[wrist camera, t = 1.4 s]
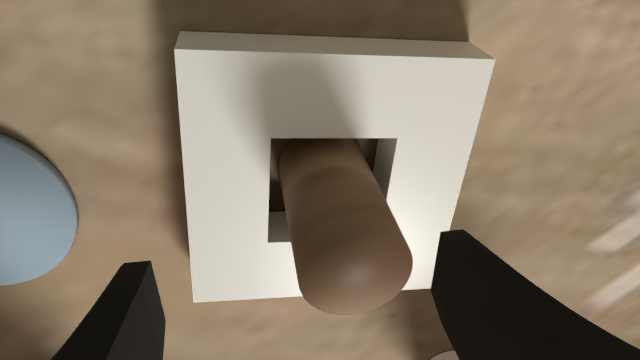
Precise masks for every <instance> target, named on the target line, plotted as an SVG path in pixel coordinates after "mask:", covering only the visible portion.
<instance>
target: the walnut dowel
mask: <svg viewBox="0 0 640 360" xmlns="http://www.w3.org/2000/svg"><path fill="white" fill-rule="evenodd" d="M278 170H279V176H280V182H281V187H282V193H283V199H284V205H285V210H286V216H287V222H288V228H289V233H290V239H291V245H292V251H293V257H294V262H295V268H296V274H297V280H298V285H299V289H300V292H301V294H302V295H303V297H304V298H305V299H306V301H307V302H308V303H309V304H311V305H312V306H313V307H315V308H317V309H319V310H321V311H323V312H326V313H330V314H335V315H354V314H360V313H365V312H368V311H371V310H374V309H376V308H378V307H380V306H382V305H384V304H386V303H387V302H389V301H390V300H391V299H393V298H394V297H395V296H396V295H397V294H398V293H399V292H400V291H401V290H402V289H403V288H404V286H405V285H406V283H407V282H408V280H409V277H410V275H411V272H412V266H413V258H412V253H411V251H410V248H409V246H408V244H407V242H406V240H405V238H404V236H403V234H402V232H401V230H400V228H399V226H398V224H397V222H396V220H395V218H394V216H393V214H392V212H391V210H390V208H389V206H388V204H387V202H386V200H385V198H384V196H383V194H382V192H381V190H380V187H379V185H378V183H377V181H376V179H375V177H374V175H373V173H372V171H371V169H370V167H369V165H368V163H367V161H366V159H365V157H364V155H363V153H362V151H361V149H360V147H359V145H358V143H357V142H356V141H355V139H354V138H292V139H291V140H290V141H289V142H288V143H287V144H286V145H285V147H284V149H283V150H282V152H281V155H280V158H279V164H278Z"/></svg>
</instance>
